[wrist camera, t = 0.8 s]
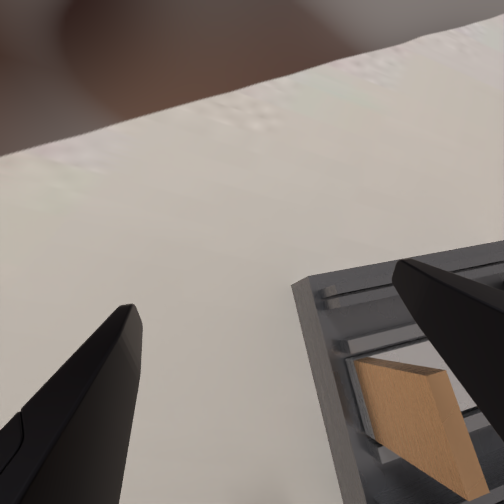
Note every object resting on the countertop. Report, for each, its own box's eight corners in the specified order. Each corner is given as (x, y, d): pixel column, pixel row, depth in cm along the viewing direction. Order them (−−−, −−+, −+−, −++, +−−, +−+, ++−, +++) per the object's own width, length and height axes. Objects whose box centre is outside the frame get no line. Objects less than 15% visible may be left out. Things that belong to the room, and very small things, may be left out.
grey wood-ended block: (536, 377, 19) (701, 401, 13) (365, 433, 16) (468, 501, 10) (509, 316, 20) (649, 310, 14) (345, 358, 17) (426, 376, 11)
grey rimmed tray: (570, 420, 23) (715, 456, 17) (344, 508, 19) (420, 605, 12) (493, 247, 27) (585, 220, 21) (291, 285, 23) (325, 266, 16)
